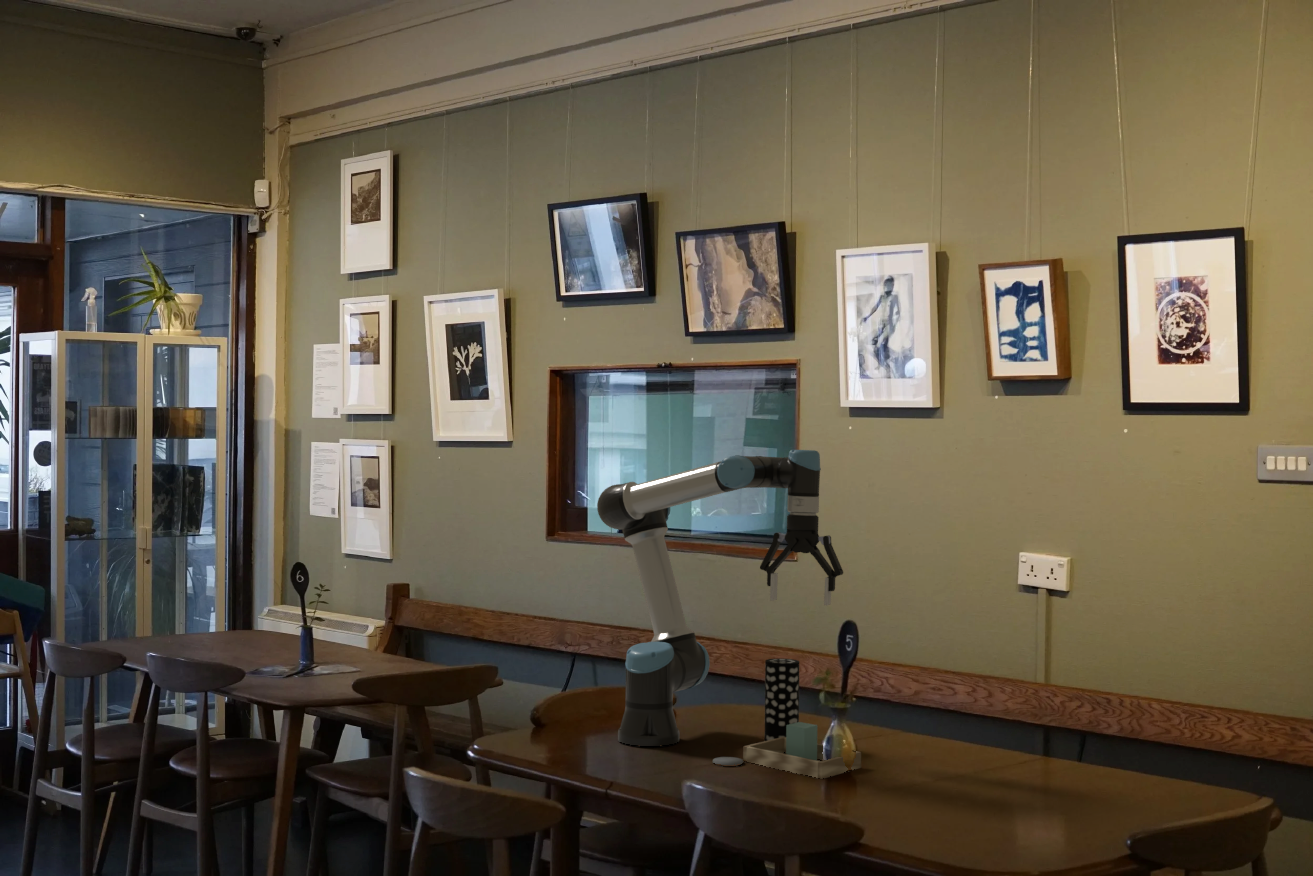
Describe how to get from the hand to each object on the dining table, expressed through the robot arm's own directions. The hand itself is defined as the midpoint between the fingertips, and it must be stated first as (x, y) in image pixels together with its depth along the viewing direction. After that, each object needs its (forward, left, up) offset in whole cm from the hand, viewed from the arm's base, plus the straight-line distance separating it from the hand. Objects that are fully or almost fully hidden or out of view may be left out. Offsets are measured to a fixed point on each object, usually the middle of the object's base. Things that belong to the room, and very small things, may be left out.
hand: (800, 602), depth 299 cm
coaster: (-3, -23, -35) cm, 42 cm away
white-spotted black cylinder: (-7, +3, -35) cm, 36 cm away
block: (+10, -12, -35) cm, 38 cm away
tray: (+10, -12, -35) cm, 38 cm away
